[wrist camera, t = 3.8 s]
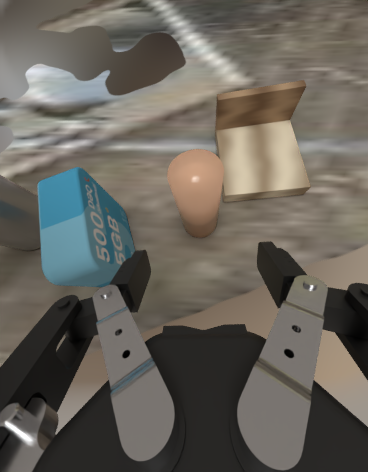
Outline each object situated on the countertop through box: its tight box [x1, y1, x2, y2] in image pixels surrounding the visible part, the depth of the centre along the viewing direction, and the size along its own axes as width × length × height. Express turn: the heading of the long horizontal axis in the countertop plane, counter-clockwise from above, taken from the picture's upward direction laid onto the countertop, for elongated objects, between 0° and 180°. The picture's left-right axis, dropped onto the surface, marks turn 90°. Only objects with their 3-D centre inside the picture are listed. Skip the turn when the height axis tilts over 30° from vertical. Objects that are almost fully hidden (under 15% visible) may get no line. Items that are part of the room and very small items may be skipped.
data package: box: [38, 167, 135, 287], centre depth 22 cm, size 12×4×12 cm, turn 19°
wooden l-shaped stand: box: [215, 80, 311, 202], centre depth 26 cm, size 12×14×7 cm
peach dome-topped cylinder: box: [167, 149, 224, 238], centre depth 22 cm, size 5×5×12 cm
